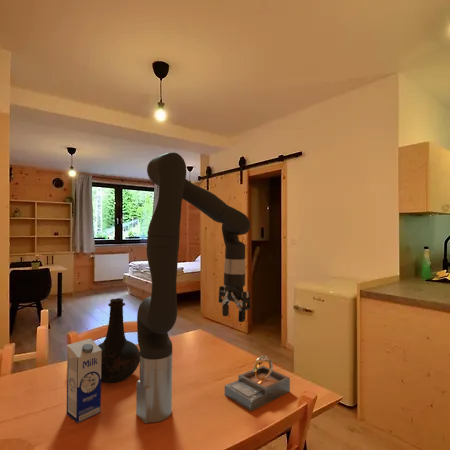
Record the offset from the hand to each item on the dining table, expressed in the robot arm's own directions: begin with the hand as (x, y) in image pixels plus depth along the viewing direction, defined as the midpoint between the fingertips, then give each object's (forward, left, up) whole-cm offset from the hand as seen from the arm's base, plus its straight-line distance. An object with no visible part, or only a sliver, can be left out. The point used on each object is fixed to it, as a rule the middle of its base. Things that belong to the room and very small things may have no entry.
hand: (233, 318), depth 109 cm
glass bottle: (-30, +30, -23) cm, 48 cm away
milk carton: (-45, +14, -23) cm, 52 cm away
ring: (+5, -10, -19) cm, 22 cm away
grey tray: (+2, -10, -22) cm, 25 cm away
